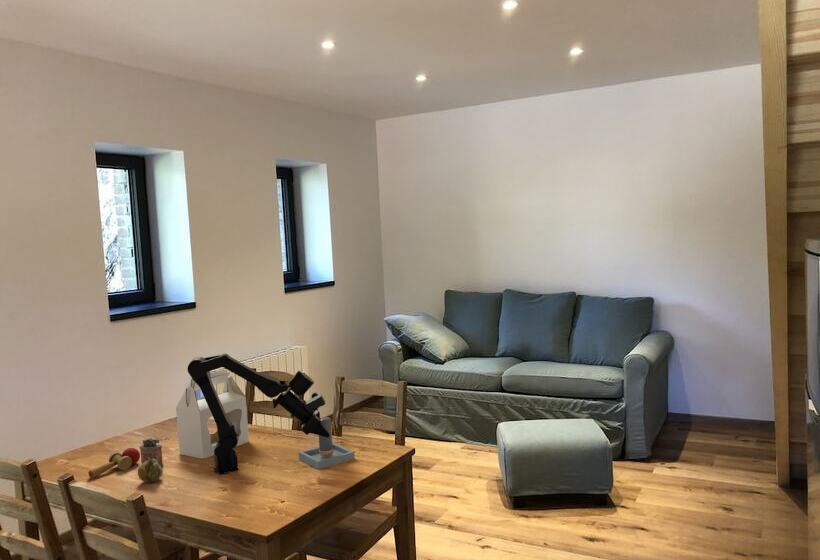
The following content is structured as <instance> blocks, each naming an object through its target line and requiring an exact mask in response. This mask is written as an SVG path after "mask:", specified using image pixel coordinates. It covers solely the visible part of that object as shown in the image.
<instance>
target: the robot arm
mask: <svg viewBox="0 0 820 560" xmlns="http://www.w3.org/2000/svg"><path fill="white" fill-rule="evenodd" d="M221 368H224V370H226V371H229V372H231V373H233V374H234V375H236V376H238V377H240V378H242V379H244V380H246V381H247V382H249V383H251V384H253V386H255V388H256V389H258V390H259V391H260V393H262V394H264V395H265V396H266V397H267V398H270V399H272V400H271V401H272V406H273V408H274V409H276V408H277V406H280V407H282V408H283V409H284V410H286V411H287V412H288V413H289V414H290V416H291V418H295V419H296V420H297V421H299V423H300V425H301V426H302V433H304V434H305V435H306V436H308V435H310V434H313V435H316V436H319V435H320V436H324V437H329V436H330V434H329V433H328V432H327V430H326V429H325V428H324V427H323V426H322V425H321V422H320V418H321V414H320V411H319V408H321V407H323V406H325V405H326V400H325V398H324V397H323V395H322V394H321V393H317V392H315V391H314V392H313V393H311V398H309V400H307V401H306V400H305V399H300V396H305V394H306V393H307V392H308V391H309V389H310V388H311V387H312V386H313V385H314V384H315V381H314V380H313V379H312V378H311V377H310V376H309V375H307V374H305V373H303V372H302V371H301V370H297V372H295V375H293V377H292V378H291V379H290V380H280V379H278V378H277V377H275V376H271V375H268V374H265V373H261V372H258V371H256V370H255V369H253V368H251V367H249V366H248V365H246V364H245V363H243V362H240V361H239V360H237V359H235V358H234V357H232V356H230V355H229V354H227V353H225V352H224V353H221V354H217V355H211V356H207V357H203V356H196V357H194V358H193V359H192V360H191V361H190V363H188V365H187V373H188V374H189V376H190V378H191V379H193V380H194V381H195V383H196V384H197V385H198V386H199V387H200V389H199V390H200V391H201V393H202V395H203V397H204V398H205V400H206V402H207V405H208V407H209V409H210V411H211V413H212V416H211V417H212V418H213V421H214V422H215V424H216V431H217V430H218V436H219V441H218V442H217V444H216V447H215V449H214V455H213V456H214V457H213V458H214V468H213V469H212V470H213V471H214V472H216V473H217V474H219V475H223V474H226V473H231V472H235V471H238V470H239V467H238V466H239V465H238V461H239V460H238V454H237V453H236V450H235V449H234V448H236V447H237V446H236V445H237V443H238V440H239V433H240V430H239V429H238V427H237V424H236V421H234V422H231V421H230V420H229V419H228V417H227V415H226V413H225V411H224V408H223V406H222V404H221V402H220V399H219V397H218V395H217V394H218V393H217V391H216V389H215V385H213V384H212V381H211V375H210V373H211V371H215V370H217V369H221ZM298 396H299V397H298ZM316 411H317V413H316Z"/></svg>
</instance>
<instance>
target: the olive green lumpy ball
mask: <svg viewBox="0 0 820 560" xmlns="http://www.w3.org/2000/svg"><path fill="white" fill-rule="evenodd" d="M163 473H164V472H163V468H161V466H160V465H159V464H158V462H157V460H155V459H150V458H149V460H148V461H146V462H144V463H141V464H140V465H139V467H138V470H137V476H138V478H139V480H141V481H143V482H145V483H147V484H149V483H153V482H156V481H159V479H160V478H161V477H162V476H163V475H162V474H163Z"/></svg>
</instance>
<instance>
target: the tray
mask: <svg viewBox="0 0 820 560" xmlns="http://www.w3.org/2000/svg"><path fill="white" fill-rule="evenodd" d="M332 445H333V454H332V455H329V456H321V455H320V454H319V446H316V447H313V448H309V449H306V450H305V449H304V450H302V451H301V450H300V451H298V460H300V461H302V462H304V463H306V464H307V465H309V466H311V467H313V468H315V469H317V470H321V469H325V468H328V467H332V466H335V465H338V464H342V463H345V462H349V461H350V462H351V461H352V460H355V455H356V454H355V451H353V450H351V449H348V448H346V447H344V446H343V445H340V444H337V443H335V442H332Z"/></svg>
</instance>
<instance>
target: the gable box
mask: <svg viewBox="0 0 820 560" xmlns="http://www.w3.org/2000/svg"><path fill="white" fill-rule="evenodd" d="M210 375H211V381H212V384H213V386H216V385H219V384H223V387H222V388H223V389H222V392H221V393H217V395H218V397H219V399H220V402H221V404H222V406H223V408H224V411H225V413H226V415H227V417H228V419H229V420H230V421H231V422H234V421H236V424H237V427H238V429H239V430H240V433H239V440H238V443H237V445H236V447H238V446H239V447H240V446H241V445H244V444H246V443H249V441H250V437H249V425H248V424H249V423H248V408H247V398H246V395H245V394H244V393H243V391H242V389H240V387H239V386H238V384H237V383H236V382H235V380H234V376H230V372H228V370H227V369H222V370H220V371H214V372H210ZM198 390H201V389H200V387H199V386H198V385H197V384H196V383H195V381H194V380H193V379H192V378H191V380H190V386H187V387H186V388H185V390H184V392H183V394H182V396H181V397H180V399H179V402H178V403H177V405H176V407H175V414H176V423H177V424H176V425H177V436H178V448H179V449H178V450H179V455H183V456H187V457H192V458H196V459H202V460H205V459H208V458H210V457H212V456H214V449H215V447H216V444H217V442H218V441H219V436H218V430H217V429H216V432H214V433H210V429H209V427H208V421H209V419H210V418H211V417H213V416H212V413H211V411H210V409H209V407H208V405H207V402H206V400H205V398H203V397H202V398H200V399H197V396H196V391H198Z"/></svg>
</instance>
